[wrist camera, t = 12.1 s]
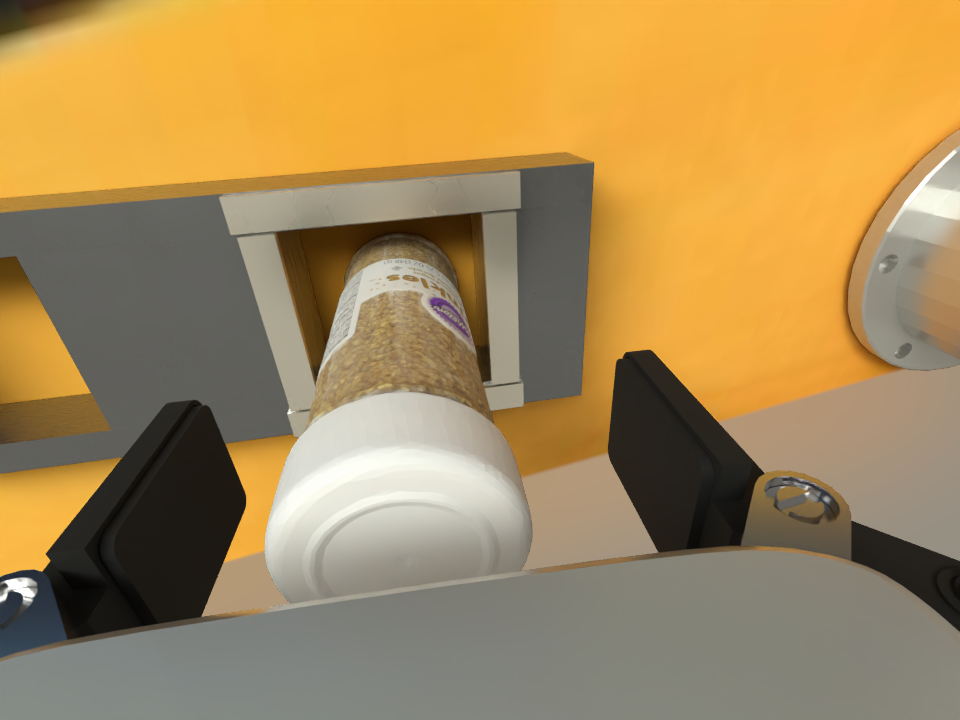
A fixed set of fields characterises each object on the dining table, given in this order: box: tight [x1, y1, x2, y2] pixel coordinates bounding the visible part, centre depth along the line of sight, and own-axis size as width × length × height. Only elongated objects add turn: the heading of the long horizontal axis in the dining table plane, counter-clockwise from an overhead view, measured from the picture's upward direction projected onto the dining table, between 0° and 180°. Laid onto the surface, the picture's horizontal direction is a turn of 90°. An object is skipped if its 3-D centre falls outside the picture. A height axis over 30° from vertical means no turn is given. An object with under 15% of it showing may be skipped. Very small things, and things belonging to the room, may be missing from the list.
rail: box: [0, 152, 594, 474], centre depth 17 cm, size 28×9×3 cm, turn 93°
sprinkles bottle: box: [265, 232, 532, 604], centre depth 14 cm, size 5×5×14 cm
